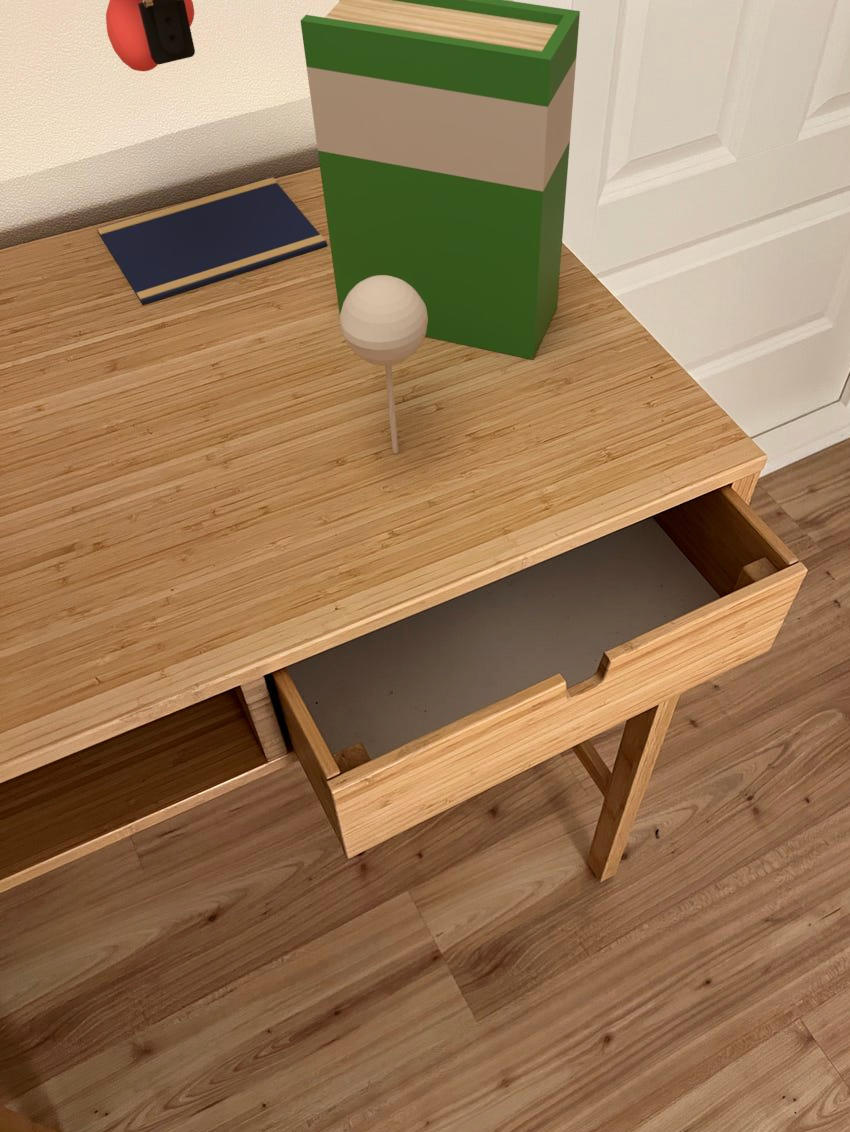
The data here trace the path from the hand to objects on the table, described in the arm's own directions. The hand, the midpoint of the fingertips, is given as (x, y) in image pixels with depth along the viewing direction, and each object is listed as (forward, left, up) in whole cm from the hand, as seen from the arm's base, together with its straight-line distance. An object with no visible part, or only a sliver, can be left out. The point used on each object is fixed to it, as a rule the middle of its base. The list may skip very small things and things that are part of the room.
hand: (154, 34), depth 76 cm
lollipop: (+3, -31, -20) cm, 37 cm away
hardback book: (+15, -18, -20) cm, 31 cm away
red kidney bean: (0, 0, -2) cm, 2 cm away
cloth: (+1, +3, -19) cm, 20 cm away
